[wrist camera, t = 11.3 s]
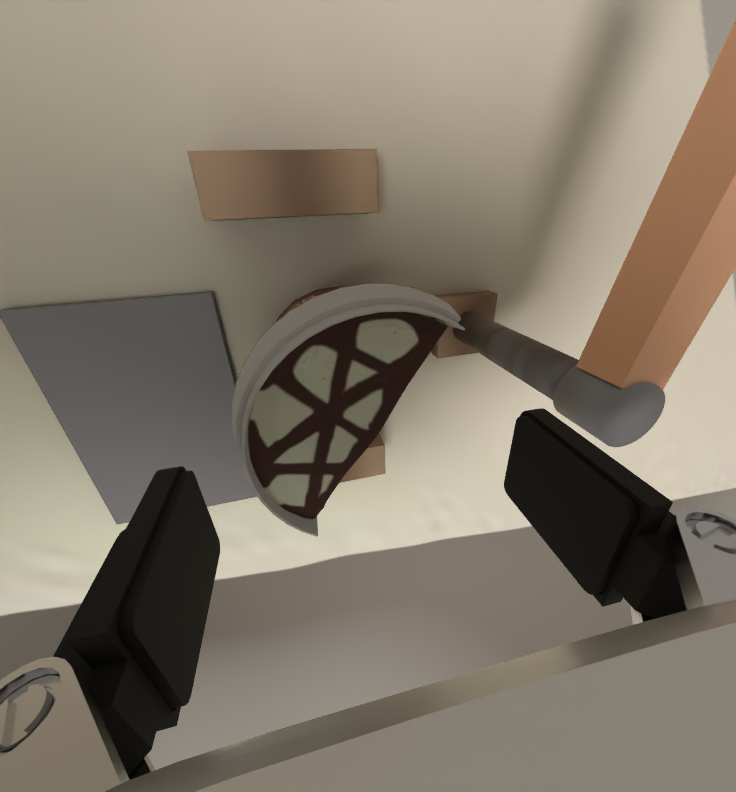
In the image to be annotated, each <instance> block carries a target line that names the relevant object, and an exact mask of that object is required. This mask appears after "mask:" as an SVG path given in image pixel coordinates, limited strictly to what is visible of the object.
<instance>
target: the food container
mask: <svg viewBox="0 0 736 792" xmlns="http://www.w3.org/2000/svg"><path fill="white" fill-rule="evenodd" d="M460 320H461V317H460V316H459V315H458V314H457V313H456V311H455V310H454V309H453V308H452V307H451V305H450V304H448V303H446V302H444V301H443V300H441V299H439V298H437V297H435V296H434V295H432V294H429V293H426V292H423V291H420V290H418V289H415V288H412V287H406V286H400V285H394V284H361V285H355V286H349V287H333V288H326V289H319V290H315V291H313V292H311V293H309V294H307V295H305V296H303V297H301V298H299V299H297V300H295V301H294V302H293V303H292V304H291V305H290V306H289V307H288V308H287V309H286V310H285V311H284V312H283V313H282V314H281V315H280V316H279V318H278V319H277V321H276V322H275V324H274V325H273V326H272V327H271V328H270V329H269V330H268V331H267V332H266V333H265V335H264V336H263V337H262V338H261V339H260V340H259V341H258V342H257V344H256V345H255V347H254V348H253V350H252V352H251V353H250V355H249V356H248V358H247V359H246V361H245V363H244V365H243V368H242V370H241V372H240V375H239V377H238V380H237V382H236V386H235V391H234V396H233V401H232V428H233V433H234V438H235V444H236V449H237V454H238V458H239V462H240V465H241V467H242V470H243V472H244V475H245V477H246V479H247V481H248V482H249V484H250V485H251V487H252V488H253V490H254V491H255V493H256V494H257V496H258V497H259V499H260V501H261V502H262V503H263V504H264V505H265V506H266V507H267V508H268V509H269V510H270V511H271V512H272V513H273V514H274V515H275V516H276V517H278V518H279V519H281V520H282V521H283V522H285V523H286V524H288V525H290V526H292V527H294V528H296V529H298V530H300V531H302V532H305V533H308V534H311V535H314V536H318V528H317V515H318V514H319V512H320V511H321V510H322V509H323V508H324V505H325V503H326V501H327V500H328V498H329V497H330V495H331V493H332V492H333V491H334V489H335V488H336V486H337V485H338V484H339V482H340V481H341V480H342V478H343V477H344V475H345V474H346V473H347V472H348V470H349V469H350V468H351V467H352V466H353V464H354V463H355V462H356V461H357V460H358V459H359V457H360V456H361V455H362V454H363V453H364V452H365V450H366V449H367V448H368V447H369V445H370V444H371V443H372V442H373V440H374V439H375V438H376V437H377V435H378V434H379V432H380V430H381V429H382V427H383V425H384V424H385V422H386V421H387V419H388V417H389V415H390V414H391V412H392V410H393V408H394V407H395V405H396V403H397V401H398V400H399V398H400V397H401V395H402V393H403V392H404V390H405V388H406V387H407V385H408V383H409V382H410V381H411V379H412V378H413V376H414V375H415V373H416V372H417V370H418V369H419V368H420V366H421V365H422V363H423V362H424V360H425V359H426V357H427V356H428V355H429V353H430V352H431V350H432V349H433V347H434V346H435V345H436V343H437V342H438V340H439V339H440V337H441V336H442V335H443V333H444V332H445V330H446V329H447V327H448V325H449V326H452V327H455V328H458V329H461V330H465V328H464V327H462V326H461V325H459V324H458V322H459V321H460Z"/></svg>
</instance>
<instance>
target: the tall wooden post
mask: <svg viewBox="0 0 736 792" xmlns="http://www.w3.org/2000/svg"><path fill="white" fill-rule="evenodd" d="M735 267H736V20H735V22H734V25H733V27H732V29H731V31H730V33H729V35H728V38H727V40H726V42H725V44H724V46H723V49H722V51H721V53H720V55H719V57H718V59H717V62H716V64H715V66H714V68H713V70H712V73H711V75H710V77H709V79H708V81H707V83H706V85H705V88H704V90H703V92H702V94H701V96H700V98H699V101H698V103H697V105H696V107H695V109H694V111H693V114H692V116H691V118H690V120H689V122H688V124H687V127H686V129H685V131H684V133H683V135H682V137H681V140H680V142H679V144H678V146H677V148H676V151H675V153H674V155H673V157H672V159H671V161H670V164H669V166H668V168H667V170H666V172H665V174H664V177H663V179H662V181H661V183H660V185H659V187H658V190H657V192H656V194H655V196H654V198H653V200H652V203H651V205H650V207H649V209H648V211H647V213H646V216H645V218H644V220H643V222H642V224H641V226H640V229H639V231H638V233H637V235H636V237H635V240H634V242H633V244H632V246H631V248H630V250H629V253H628V255H627V257H626V259H625V261H624V263H623V266H622V268H621V270H620V272H619V274H618V276H617V279H616V281H615V283H614V285H613V287H612V289H611V292H610V294H609V296H608V298H607V300H606V302H605V305H604V307H603V309H602V311H601V313H600V315H599V318H598V320H597V322H596V324H595V326H594V328H593V331H592V333H591V335H590V337H589V339H588V342H587V344H586V346H585V348H584V350H583V352H582V355H581V357H580V359H579V361H578V363H577V364H576V365H575V366H573V367H572V368H570V369H569V370H568V371H567V372H566V373H565V374H564V375H563V376H562V378H561V379H560V381H559V382H558V384H557V386H556V388H555V391H554V395H553V403H554V407H555V409H556V410H557V411H558V412H559V413H560V414H562V415H563V416H565V417H566V418H568V419H569V420H571V421H572V422H574V423H575V424H577V425H578V426H580V427H581V428H583V429H584V430H586V431H587V432H589V433H590V434H592V435H593V436H595V437H596V438H598V439H599V440H601V441H602V442H604V443H605V444H607V445H608V446H611V447H621V446H625V445H628V444H630V443H632V442H634V441H636V440H638V439H639V438H641V437H642V436H643V435H644V434H646V433H647V432H648V431H649V430H650V429H651V428H652V426H653V425H654V424H655V423H656V421H657V420H658V418H659V417H660V415H661V413H662V410H663V408H664V404H665V395H664V392H663V389H664V387H665V385H666V383H667V382H668V380H669V378H670V377H671V375H672V373H673V372H674V370H675V368H676V367H677V365H678V363H679V362H680V360H681V358H682V357H683V355H684V353H685V352H686V350H687V348H688V346H689V345H690V343H691V341H692V340H693V338H694V336H695V335H696V333H697V331H698V330H699V328H700V326H701V325H702V323H703V321H704V320H705V318H706V316H707V315H708V313H709V311H710V309H711V308H712V306H713V304H714V303H715V301H716V299H717V298H718V296H719V294H720V293H721V291H722V289H723V288H724V286H725V284H726V283H727V281H728V279H729V278H730V276H731V274H732V272H733V271H734V269H735Z"/></svg>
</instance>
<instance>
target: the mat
mask: <svg viewBox="0 0 736 792" xmlns="http://www.w3.org/2000/svg"><path fill="white" fill-rule="evenodd" d="M0 317H1V319H2V321H3V323H4V324H5V326H6V328H7V330H8V332H9V333H10V335H11V337H12V339H13V340H14V342H15V344H16V346H17V348H18V349H19V351H20V353H21V355H22V356H23V358H24V360H25V362H26V364H27V365H28V367H29V369H30V371H31V372H32V374H33V376H34V378H35V380H36V381H37V383H38V385H39V387H40V388H41V390H42V392H43V394H44V396H45V397H46V399H47V401H48V403H49V404H50V406H51V408H52V410H53V412H54V413H55V415H56V417H57V419H58V420H59V422H60V424H61V426H62V428H63V429H64V431H65V433H66V435H67V436H68V438H69V440H70V442H71V444H72V445H73V447H74V449H75V451H76V453H77V454H78V456H79V458H80V460H81V461H82V463H83V465H84V467H85V469H86V470H87V472H88V474H89V476H90V477H91V479H92V481H93V483H94V485H95V486H96V488H97V490H98V492H99V493H100V495H101V497H102V499H103V501H104V502H105V504H106V506H107V508H108V509H109V511H110V513H111V515H112V517H113V518H114V520H115V522H116V524H122V523H127V522H130V520H131V518H132V516H133V515H134V513H135V511H136V509H137V507H138V505H139V503H140V501H141V499H142V497H143V495H144V494H145V492H146V490H147V488H148V486H149V484H150V482H151V480H152V478H153V476H154V474H155V473H156V472H157V471H158V470H161V469H167V468H174V467H180V466H183V467H184V468H185V469H186V471H190V470H191V471H193V472H194V474H195V477H196V479H197V482H198V485H199V487H200V490H201V493H202V495H203V498H204V501H205V504H206V506H212V505H217V504H222V503H227V502H232V501H237V500H243V499H248V498H253V497H258V496H257V494H256V493H255V491H254V490H253V488H252V487H251V485H250V484H249V482H248V481H247V479H246V477H245V475H244V472H243V470H242V467H241V465H240V462H239V458H238V454H237V449H236V444H235V438H234V433H233V428H232V401H233V396H234V391H235V386H236V382H235V378H234V374H233V370H232V366H231V363H230V359H229V355H228V351H227V347H226V343H225V339H224V335H223V331H222V327H221V323H220V319H219V316H218V312H217V308H216V304H215V300H214V296H213V292H200V293H189V294H177V295H165V296H154V297H142V298H130V299H118V300H107V301H95V302H83V303H72V304H60V305H48V306H37V307H25V308H13V309H4V310H0Z"/></svg>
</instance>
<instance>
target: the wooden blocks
mask: <svg viewBox="0 0 736 792" xmlns="http://www.w3.org/2000/svg"><path fill="white" fill-rule="evenodd" d="M188 155H189V159H190V164H191V168H192V172H193V176H194V180H195V184H196V188H197V192H198V197H199V201H200V205H201V209H202V213H203V217H204V220H212V221H218V220H239V219H260V218H281V217H301V216H322V215H343V214H364V213H373V212H378V186H377V149H337V150H247V151H188ZM435 297H437V298H439V299H441V300H443V301H444V302H446V303H448V304H450V305H451V307H452V308H453V309H454V310H455V311H456V313H457V314H458V315H459V316H460V317H461V320H460V321H459V322H458V324H459V325H461V326H462V327H464V328H465V330H461V329H458V328H455V327H452V326H449V325H448V327H447V329H446V330H445V332H444V333H443V335H442V336H441V337H440V339H439V340H438V342H437V343H436V345H435V346H434V347H433V349H432V354H433V355H434V356H435V357H437V358H443V357H450V356H457V355H465V354H472V353H480V354H482V355H483V356H485V357H486V358H488V359H489V360H491V361H493V362H494V363H496V364H497V365H499V366H500V367H502V368H503V369H505V370H507V371H508V372H510V373H511V374H513V375H514V376H516V377H518V378H519V379H521V380H522V381H524V382H525V383H527V384H529V385H530V386H532V387H533V388H535V389H536V390H538V391H539V392H541V393H543V394H544V395H546V396H547V397H549V398H550V399H552V400H553V395H554V391H555V388H556V386H557V384H558V382H559V381H560V379H561V378H562V376H563V375H564V374H565V373H566V372H567V371H568V370H569V369H570V368H572V367H573V366H575V365H576V364H577V363H578V361H579V360H577V359H575V358H573V357H571V356H569V355H566V354H564V353H562V352H560V351H557V350H555V349H553V348H551V347H549V346H546V345H544V344H542V343H540V342H538V341H535V340H533V339H531V338H529V337H527V336H524V335H522V334H520V333H518V332H516V331H513V330H511V329H509V328H507V327H504V326H502V325H500V324H498V323H496V322H494V315H495V308H496V300H497V293H494V292H491V291H483V292H473V293H463V294H453V295H443V296H435ZM380 474H385V445H384V443H383V441H382V439H381V437H380V435H379V434H378V435H377V437H376V438H375V439H374V440H373V442H372V443H371V444H370V445H369V447H368V448H367V449H366V450H365V452H364V453H363V454H362V455H361V456H360V457H359V459H358V460H357V461H356V462H355V463H354V464H353V466H352V467H351V468H350V469H349V470H348V472H347V473H346V474H345V475H344V477H343V478H342V480H341V481H340V482H345V481H350V480H355V479H360V478H365V477H370V476H375V475H380ZM340 482H339V483H340Z"/></svg>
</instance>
